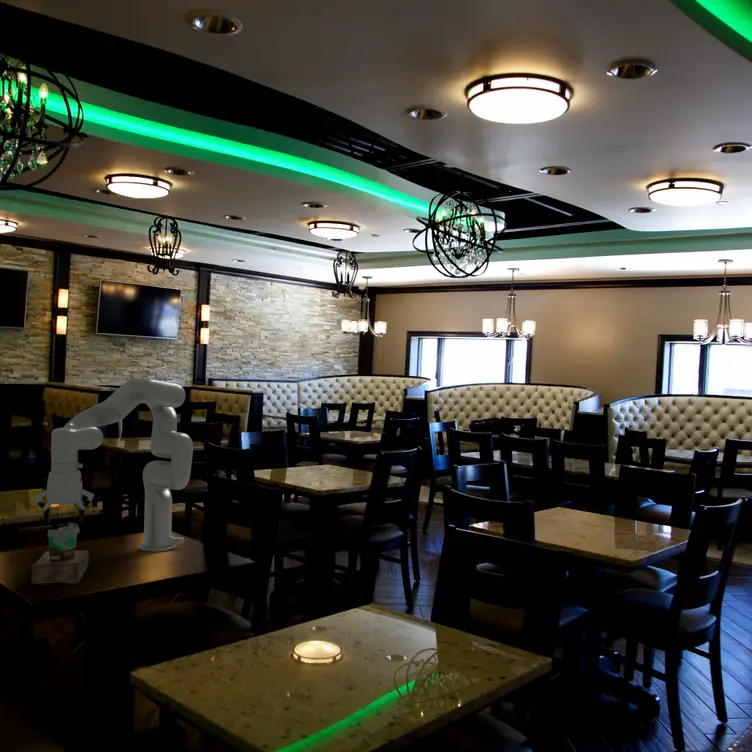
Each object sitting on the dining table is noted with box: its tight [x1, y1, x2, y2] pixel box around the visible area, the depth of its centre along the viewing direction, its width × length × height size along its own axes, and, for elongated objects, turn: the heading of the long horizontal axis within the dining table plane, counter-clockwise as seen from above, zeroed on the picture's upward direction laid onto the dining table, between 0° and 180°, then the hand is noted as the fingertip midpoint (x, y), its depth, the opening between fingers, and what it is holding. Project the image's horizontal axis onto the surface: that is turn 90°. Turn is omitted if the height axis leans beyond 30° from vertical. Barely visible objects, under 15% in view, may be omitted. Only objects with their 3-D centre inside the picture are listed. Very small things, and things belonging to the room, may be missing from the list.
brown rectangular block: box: [30, 550, 90, 585], centre depth 228 cm, size 13×20×6 cm, turn 13°
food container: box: [46, 522, 80, 562], centre depth 229 cm, size 12×6×10 cm, turn 173°
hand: (64, 521), depth 229 cm, fingers open, 9 cm apart
